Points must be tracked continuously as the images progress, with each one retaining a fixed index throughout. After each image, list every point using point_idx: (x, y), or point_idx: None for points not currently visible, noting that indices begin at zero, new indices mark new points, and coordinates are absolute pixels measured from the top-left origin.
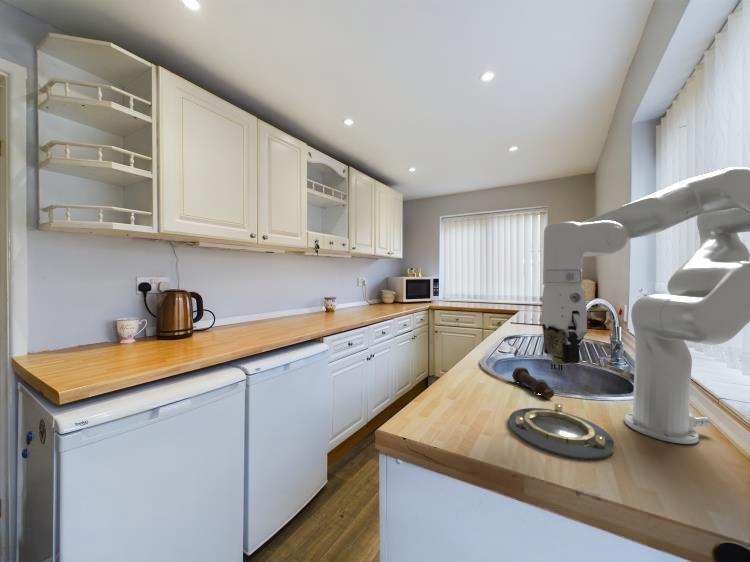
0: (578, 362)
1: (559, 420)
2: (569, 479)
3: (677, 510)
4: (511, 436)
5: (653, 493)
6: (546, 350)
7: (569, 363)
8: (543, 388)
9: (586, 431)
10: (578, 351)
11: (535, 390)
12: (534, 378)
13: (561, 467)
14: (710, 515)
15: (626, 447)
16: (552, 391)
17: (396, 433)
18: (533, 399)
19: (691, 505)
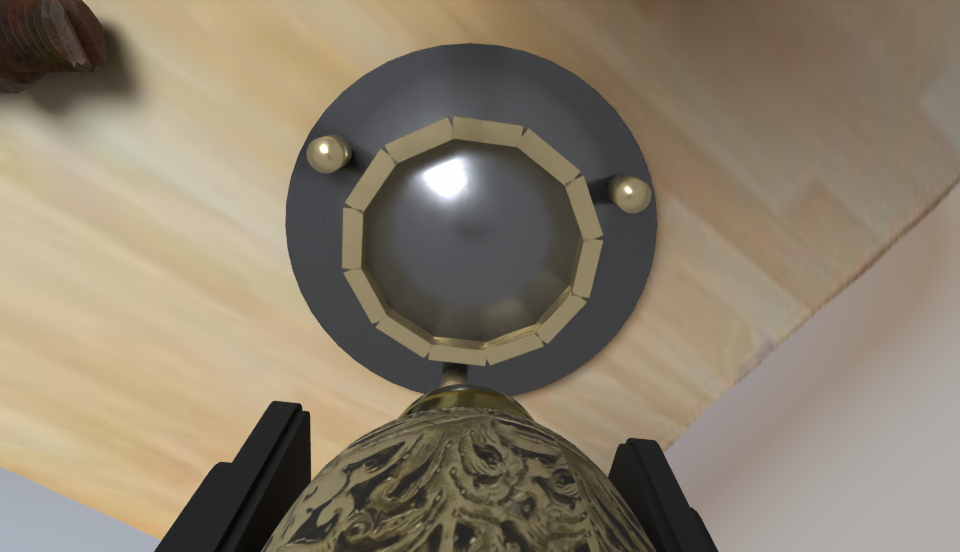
0: (654, 442)
1: (408, 195)
2: (702, 371)
3: (883, 192)
4: None
5: (817, 193)
6: None
7: (519, 404)
8: (44, 57)
9: (509, 146)
10: (700, 544)
11: (31, 82)
12: None
13: (655, 359)
14: (933, 116)
15: (601, 30)
16: (61, 5)
17: None
18: (125, 130)
19: (890, 129)
